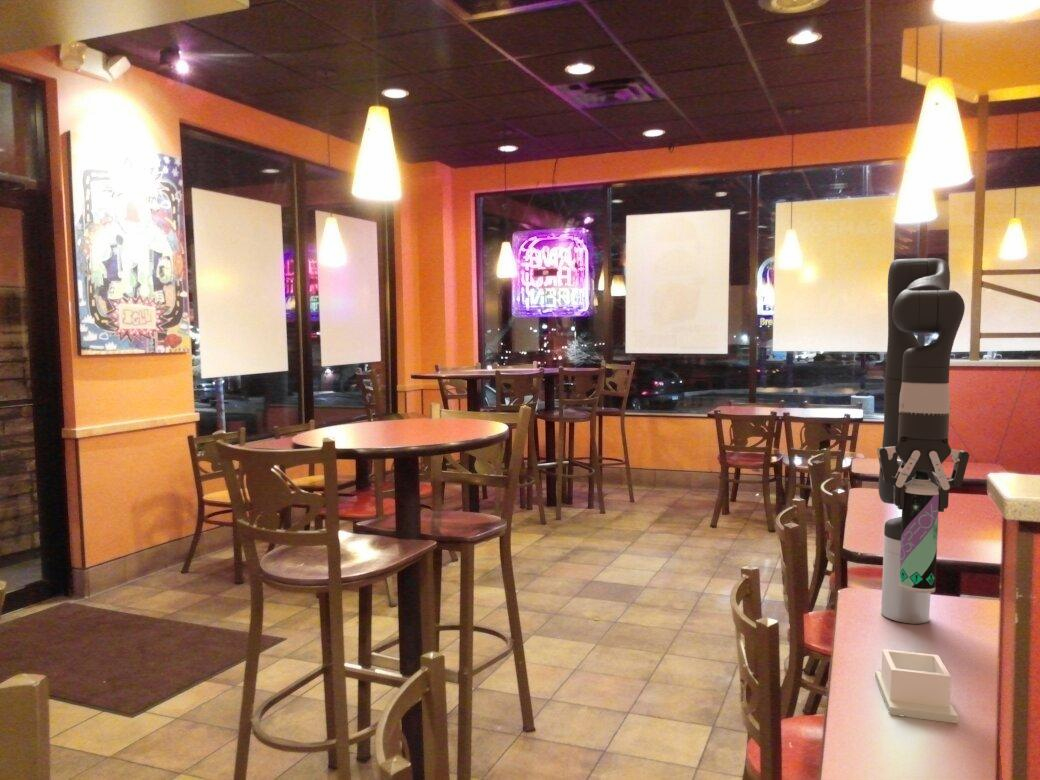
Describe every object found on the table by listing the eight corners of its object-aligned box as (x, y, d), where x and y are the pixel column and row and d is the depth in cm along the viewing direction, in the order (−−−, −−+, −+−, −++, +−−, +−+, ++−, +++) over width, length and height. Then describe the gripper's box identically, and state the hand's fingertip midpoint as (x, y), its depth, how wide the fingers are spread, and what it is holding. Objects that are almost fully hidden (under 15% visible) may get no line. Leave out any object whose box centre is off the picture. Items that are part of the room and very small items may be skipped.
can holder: (875, 677, 136) (876, 642, 136) (936, 684, 134) (937, 649, 133) (889, 714, 123) (890, 676, 122) (957, 723, 120) (959, 684, 120)
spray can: (893, 583, 135) (897, 468, 134) (925, 583, 135) (930, 469, 134) (908, 592, 130) (912, 473, 129) (941, 593, 129) (946, 474, 128)
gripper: (965, 410, 132) (961, 508, 133) (873, 407, 136) (870, 503, 137) (978, 413, 125) (973, 517, 126) (881, 410, 129) (877, 511, 130)
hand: (919, 509), depth 132 cm, fingers closed on spray can, 5 cm apart
